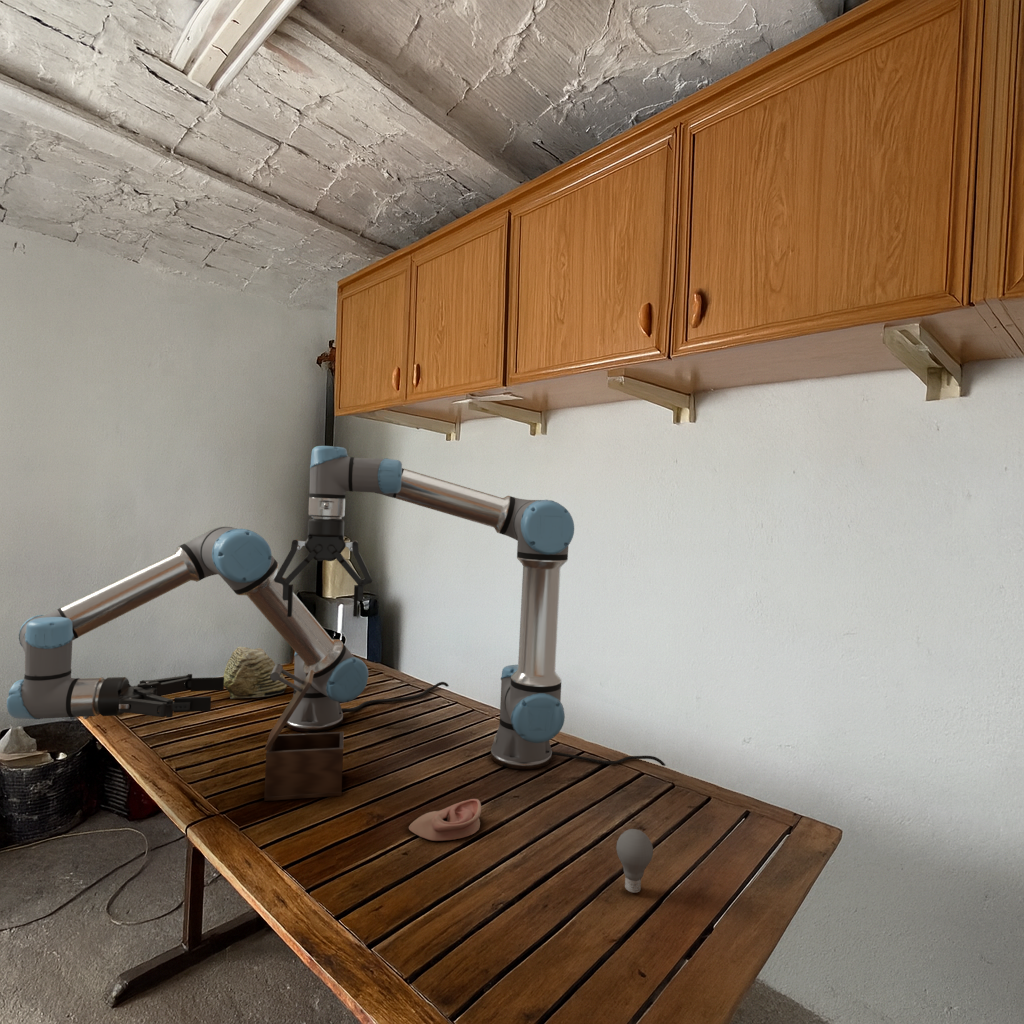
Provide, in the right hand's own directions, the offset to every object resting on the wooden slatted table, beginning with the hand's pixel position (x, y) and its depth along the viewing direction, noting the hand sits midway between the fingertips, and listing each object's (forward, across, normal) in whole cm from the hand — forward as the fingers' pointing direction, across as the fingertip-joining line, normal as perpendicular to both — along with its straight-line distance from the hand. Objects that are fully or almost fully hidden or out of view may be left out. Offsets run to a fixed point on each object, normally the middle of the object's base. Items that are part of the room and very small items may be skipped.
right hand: (322, 615), depth 137 cm
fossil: (+38, -22, +67) cm, 80 cm away
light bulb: (+38, +53, -47) cm, 80 cm away
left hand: (+16, -21, 0) cm, 26 cm away
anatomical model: (+38, +25, -22) cm, 50 cm away
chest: (+38, -2, 0) cm, 38 cm away
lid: (+20, -6, 0) cm, 21 cm away
